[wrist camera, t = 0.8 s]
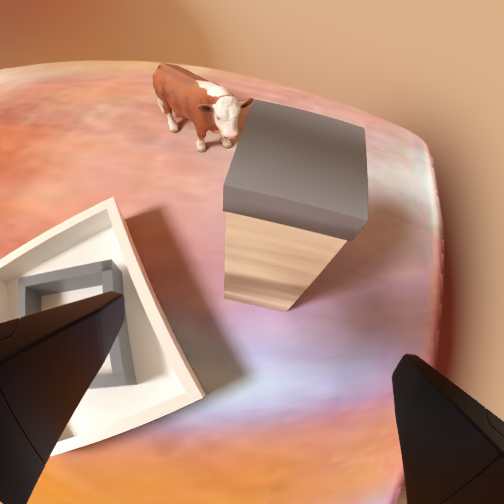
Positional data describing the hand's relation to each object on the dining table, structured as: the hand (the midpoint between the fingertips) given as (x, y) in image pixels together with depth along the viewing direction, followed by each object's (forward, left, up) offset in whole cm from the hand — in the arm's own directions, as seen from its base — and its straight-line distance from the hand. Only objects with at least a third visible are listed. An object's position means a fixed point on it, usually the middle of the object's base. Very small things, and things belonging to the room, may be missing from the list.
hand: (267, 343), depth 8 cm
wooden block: (+5, -5, -13) cm, 15 cm away
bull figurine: (+21, -7, -13) cm, 26 cm away
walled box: (+7, +10, -13) cm, 18 cm away
